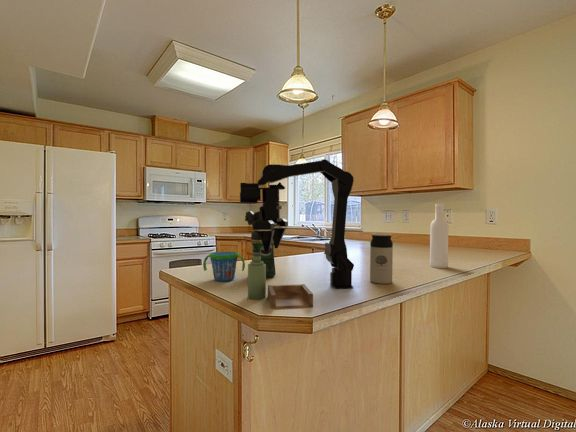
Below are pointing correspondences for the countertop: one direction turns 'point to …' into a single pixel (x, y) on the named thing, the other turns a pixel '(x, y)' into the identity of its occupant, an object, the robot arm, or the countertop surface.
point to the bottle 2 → (439, 239)
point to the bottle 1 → (256, 278)
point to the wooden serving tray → (289, 296)
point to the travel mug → (381, 258)
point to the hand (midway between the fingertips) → (271, 249)
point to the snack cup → (224, 265)
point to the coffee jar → (264, 253)
